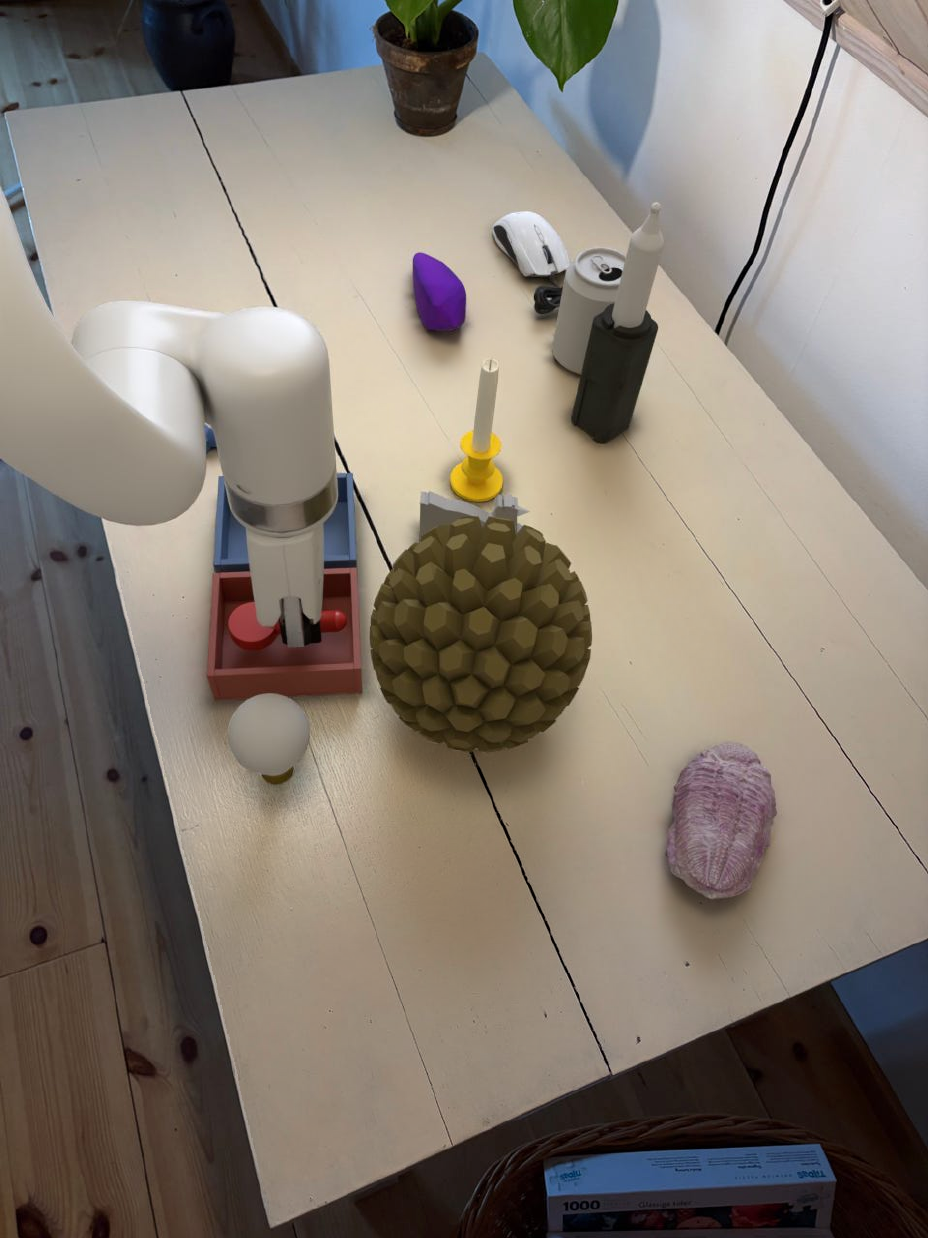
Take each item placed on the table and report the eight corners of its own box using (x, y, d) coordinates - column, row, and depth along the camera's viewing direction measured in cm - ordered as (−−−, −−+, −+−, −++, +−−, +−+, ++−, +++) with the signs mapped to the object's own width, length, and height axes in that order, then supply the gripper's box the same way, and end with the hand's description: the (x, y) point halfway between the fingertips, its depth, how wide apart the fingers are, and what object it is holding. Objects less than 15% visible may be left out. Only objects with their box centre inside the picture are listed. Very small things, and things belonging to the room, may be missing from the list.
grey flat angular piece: (419, 530, 90) (524, 535, 90) (419, 542, 89) (525, 546, 89) (420, 490, 85) (531, 495, 85) (420, 502, 84) (532, 507, 84)
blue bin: (219, 592, 84) (213, 565, 81) (224, 504, 90) (218, 475, 86) (357, 586, 85) (356, 559, 82) (353, 500, 91) (352, 472, 88)
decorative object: (394, 599, 85) (396, 441, 68) (579, 633, 84) (627, 482, 68) (349, 767, 75) (340, 632, 59) (557, 807, 75) (607, 682, 58)
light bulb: (326, 752, 76) (319, 691, 68) (299, 818, 73) (288, 763, 65) (258, 731, 77) (243, 668, 68) (227, 795, 73) (208, 738, 65)
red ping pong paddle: (346, 607, 81) (345, 595, 79) (347, 646, 79) (347, 634, 77) (231, 612, 80) (228, 599, 78) (229, 652, 78) (226, 640, 76)
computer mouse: (537, 215, 119) (541, 185, 116) (612, 302, 110) (619, 273, 107) (466, 232, 116) (469, 202, 113) (538, 323, 107) (543, 293, 104)
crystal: (436, 232, 109) (477, 302, 100) (436, 271, 113) (475, 342, 104) (396, 237, 108) (434, 309, 99) (397, 276, 112) (433, 348, 103)
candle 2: (566, 418, 99) (614, 199, 78) (599, 397, 101) (654, 178, 80) (601, 446, 97) (660, 228, 76) (634, 424, 99) (699, 206, 79)
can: (583, 390, 102) (604, 296, 92) (536, 351, 105) (552, 257, 95) (631, 362, 105) (657, 269, 95) (585, 326, 108) (605, 232, 98)
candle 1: (501, 505, 92) (520, 383, 79) (448, 500, 92) (458, 377, 79) (503, 465, 95) (522, 341, 82) (451, 460, 95) (462, 336, 82)
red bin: (213, 700, 78) (206, 676, 75) (219, 599, 83) (212, 572, 80) (362, 693, 79) (361, 668, 76) (358, 593, 85) (356, 567, 82)
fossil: (641, 890, 72) (657, 866, 67) (685, 736, 79) (701, 706, 75) (746, 931, 70) (769, 909, 66) (780, 770, 78) (802, 742, 74)
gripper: (229, 400, 68) (259, 555, 83) (220, 577, 59) (254, 714, 75) (334, 398, 69) (344, 552, 84) (340, 572, 60) (350, 708, 76)
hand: (302, 627), depth 79 cm, fingers closed on red ping pong paddle, 1 cm apart
